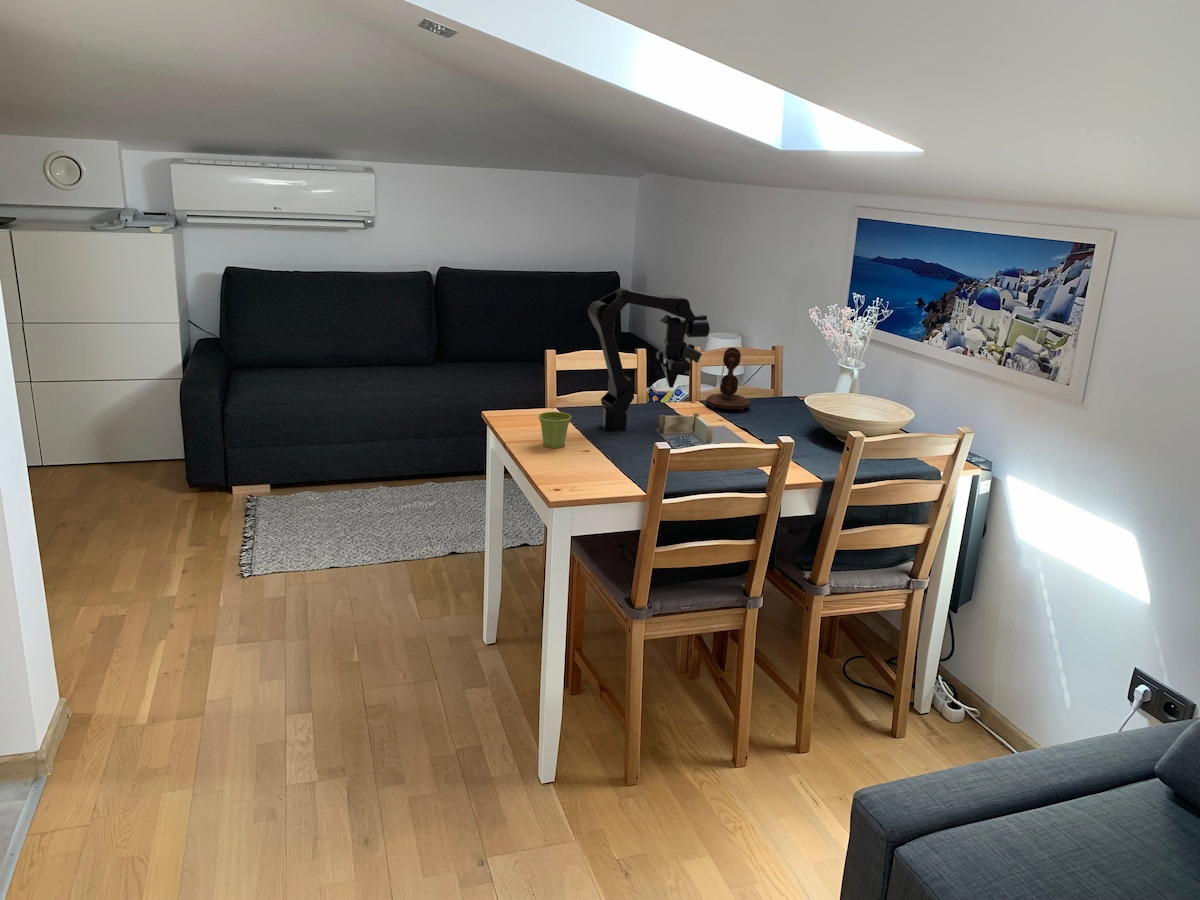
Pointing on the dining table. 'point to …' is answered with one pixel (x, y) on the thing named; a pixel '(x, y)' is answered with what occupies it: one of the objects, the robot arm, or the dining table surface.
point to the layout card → (719, 436)
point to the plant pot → (554, 428)
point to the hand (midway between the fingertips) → (670, 387)
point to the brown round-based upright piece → (729, 385)
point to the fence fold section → (704, 429)
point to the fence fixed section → (677, 423)
